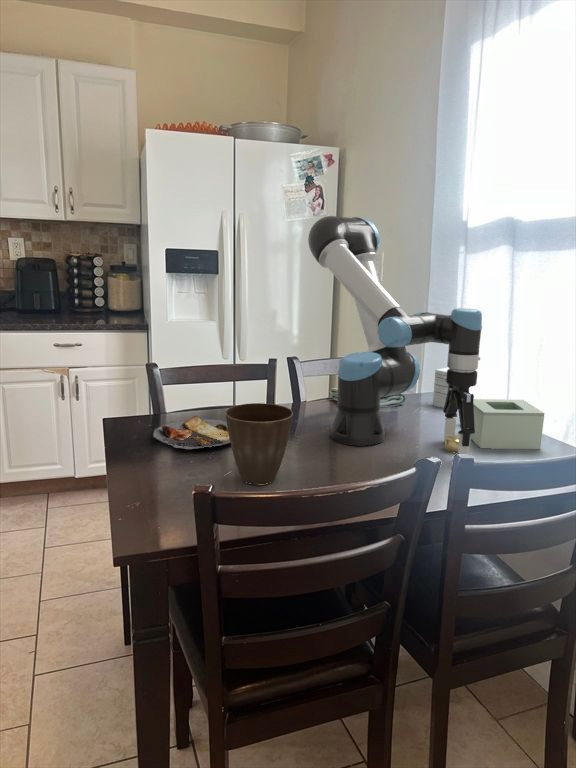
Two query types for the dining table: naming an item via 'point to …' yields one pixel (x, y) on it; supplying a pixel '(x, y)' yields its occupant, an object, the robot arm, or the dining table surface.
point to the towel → (384, 401)
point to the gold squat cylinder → (452, 444)
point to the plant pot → (258, 439)
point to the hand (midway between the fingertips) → (455, 448)
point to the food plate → (196, 425)
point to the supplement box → (440, 387)
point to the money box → (507, 424)
